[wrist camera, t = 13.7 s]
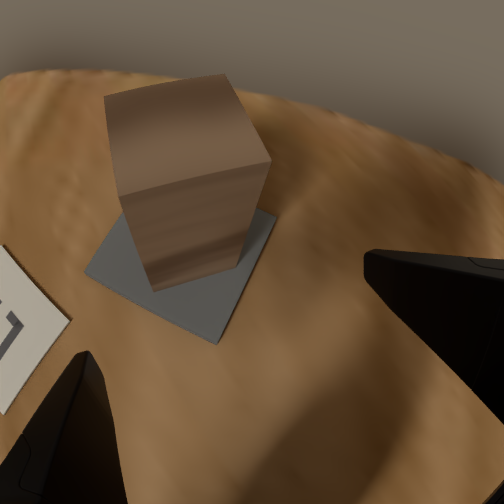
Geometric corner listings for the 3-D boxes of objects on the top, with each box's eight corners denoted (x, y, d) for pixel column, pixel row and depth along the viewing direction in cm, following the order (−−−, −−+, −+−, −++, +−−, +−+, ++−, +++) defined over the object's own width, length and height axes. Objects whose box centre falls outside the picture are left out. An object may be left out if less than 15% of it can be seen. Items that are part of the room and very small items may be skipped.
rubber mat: (275, 221, 24) (276, 217, 24) (216, 345, 20) (216, 343, 19) (158, 168, 24) (158, 164, 24) (86, 274, 20) (83, 271, 20)
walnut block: (235, 267, 22) (271, 160, 12) (153, 292, 20) (118, 196, 10) (209, 198, 23) (224, 74, 13) (134, 218, 22) (103, 96, 12)
